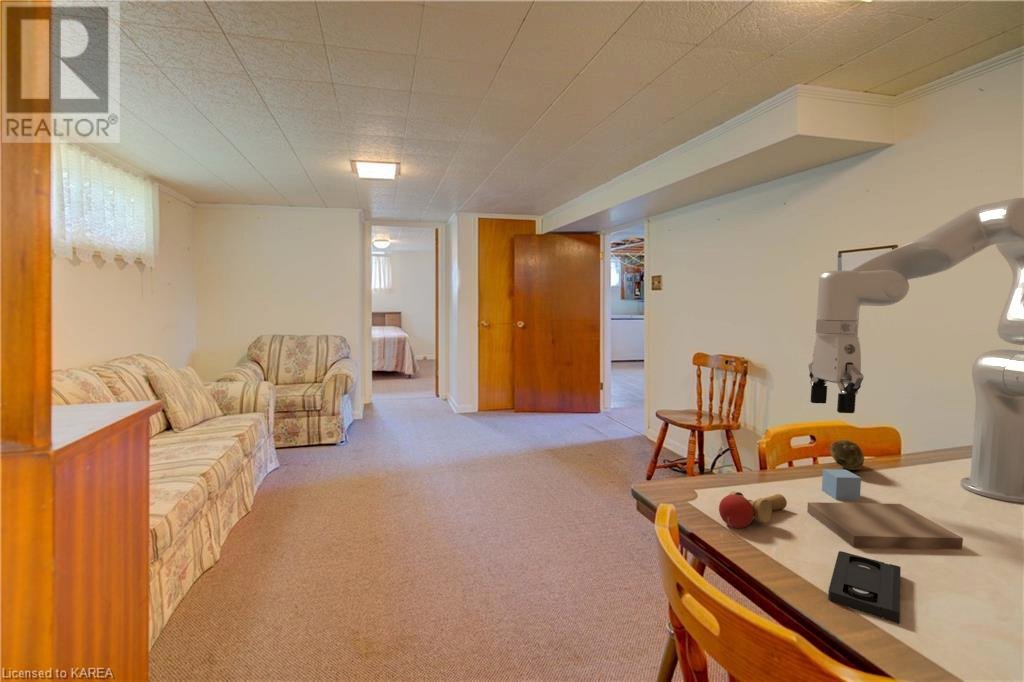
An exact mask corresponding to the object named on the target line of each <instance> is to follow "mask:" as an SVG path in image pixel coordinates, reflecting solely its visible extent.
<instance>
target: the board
mask: <svg viewBox="0 0 1024 682" xmlns="http://www.w3.org/2000/svg"><path fill="white" fill-rule="evenodd" d="M807 513H808V514H809V515H810V516H812V517H813V518H815V520H817V521H818V520H819V522H820V523H821V524H822V525H824V526H825V527H826V528H827V529H829V530H830V531H832V532H833V533H834V534H836V536H838V537H839V538H841V539H842V540H843V541H844V542H846V543H847V544H848V545H850V546H851V547H852V548H872V549H873V548H874V549H875V548H877V549H879V548H880V549H881V548H882V549H885V548H886V549H924V550H926V549H927V550H928V549H929V550H932V549H933V550H934V549H935V550H963V541H964V538H963V537H962V536H960V535H959V534H956V533H955V532H953V531H951V530H949V529H947V528H945V527H944V526H942V525H940V524H938V523H936V522H934V521H933V520H931V519H929V518H928V517H925V516H923V514H922V515H921V514H920V513H918V512H916V511H914V510H913V509H911V508H909V507H907V506H905V505H904V504H902V503H875V502H874V503H873V502H870V503H869V502H868V503H867V502H864V503H863V502H814V501H813V502H809V501H808V502H807Z"/></svg>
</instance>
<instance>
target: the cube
mask: <svg viewBox="0 0 1024 682" xmlns="http://www.w3.org/2000/svg"><path fill="white" fill-rule="evenodd" d="M821 481H822V483H821V492H823V493H824V492H825V494H826V495H828V496H829V497H831V498H832V499H833V500H835V501H860V500H861V489H862V488H861V485H862V477H861V476H858V475H857V474H855V473H853V472H851V471H850V470H849V469H848V470H847V469H834V468H833V469H829V468H828V469H827V468H826V469H822V479H821Z"/></svg>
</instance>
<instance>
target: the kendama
mask: <svg viewBox="0 0 1024 682" xmlns="http://www.w3.org/2000/svg"><path fill="white" fill-rule="evenodd" d="M787 502H788V501H787V499H786V497H785V496H784V495H783V494H779V493H777V494H773V495H770V496H766V497H760V498H757V499H756V500H752V499H747V498H746V497H745V496H744V494H743V493H742V492H740V491H734V490H732V491H730V492H729V494H728V495H726V496H725V497H724V496H723V498H722V499H721V500H720V503H719V504H718V505H719V506H718V512H719V516H720V517H721V519H722V521H723V522H724V523H725V524H727V525H728V526H729V527H731V528H734V529H742V528H745V527H748V526H749V525H750V524H751V523H752V522H753V520H754V519H755V520H756V521H757V522H758V523H762V524H766V523H768V522H769V521H770V519H771V517H772V513H773V510H774V511H775V510H785V508H786V507H787V504H788V503H787Z"/></svg>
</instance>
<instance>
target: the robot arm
mask: <svg viewBox="0 0 1024 682" xmlns="http://www.w3.org/2000/svg"><path fill="white" fill-rule="evenodd" d="M992 245H995V246H996V248H997V250H998V251H999V254H1000V255H1001V256H1002V257H1003V258H1004V259H1005V260H1006V262H1007V263H1008V265H1009V266H1010V267H1009V268H1010V269H1011V271H1012V283H1011V287H1010V291H1009V292H1008V296H1007V298H1006V300H1005V304H1004V306H1003V309H1002V311H1001V314H1000V316H999V321H998V324H997V329H996V330H997V335H998V336H999V338H1000V339H1001V340H1002V341H1004V342H1006V343H1009V344H1011V345H1018V346H1024V197H1016V198H1010V199H1006V200H1002V201H1001V200H1000V201H995V202H991V203H990V202H989V203H986V204H981V205H977V206H975V207H973V208H972V207H971V208H969V209H968V210H966V211H964V212H962V213H961V214H959V215H957V216H955V217H954V218H952V219H950V220H949V221H947V222H945V223H944V224H942V225H940V226H938V227H936V228H935V229H933V230H931V231H929V232H928V233H926V234H924V235H922V236H921V237H919V238H917V239H914V240H912V241H909V242H907V243H905V244H902V245H900V246H898V247H896V248H893V249H890V250H889V251H886V252H884V253H882V254H880V255H877V256H875V257H873V258H870V259H868V260H866V261H865V262H863V263H862V264H860V265H858V266H856V267H854V268H852V269H851V270H829V271H825V272H823V273H821V274H820V275H819V278H818V288H817V289H818V290H817V304H816V305H817V306H816V307H817V308H816V321H815V322H816V323H815V342H814V346H813V353H812V362H810V363H809V364H808V370H809V378H810V381H809V383H810V385H811V386H810V387H811V388H810V403H812V404H827V400H828V399H827V398H828V397H827V395H828V385H826V384H827V383H828V382H829V383H834V384H837V387H838V389H839V392H840V393H838V394H837V408H836V411H837V413H838V414H854V413H855V411H856V398H857V397H856V396H857V395H858V394H859V389H860V388H861V387H862V386H861V385H862V382H863V380H864V375H863V374H862V372H861V371H862V356H861V354H862V353H861V351H862V350H861V343H860V338H859V336H858V335H859V322H860V321H859V320H860V307H861V306H865V307H866V306H869V307H885V306H892V305H894V304H897V303H899V302H901V301H903V299H904V298H905V297H907V295H908V293H909V292H910V291H909V290H910V284H909V280H913V279H919V278H923V277H928V276H932V275H936V274H939V273H942V272H946V271H947V270H950V269H952V268H954V267H956V266H957V265H959V264H961V263H962V262H964V261H965V260H967V259H969V258H971V257H972V256H974V255H975V254H978V253H979V252H981V251H982V250H984V249H986V248H988V247H990V246H992ZM971 378H972V383H973V389H974V393H975V395H974V396H975V406H974V407H975V409H974V410H975V412H974V425H973V436H972V448H971V449H972V451H971V462H970V463H971V465H970V476H967V477H966V476H965V477H963V478H961V479H960V486H961V487H963V488H964V489H966V490H967V491H969V492H971V493H974V494H978V495H980V496H984V497H988V498H991V499H995V500H1000V501H1006V502H1012V503H1013V502H1014V503H1020V504H1021V503H1022V504H1023V503H1024V350H1016V349H993V350H988V351H986V352H983V353H982V354H980V355H978V356H977V358H975V360H974V362H973V363H972V367H971Z"/></svg>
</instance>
